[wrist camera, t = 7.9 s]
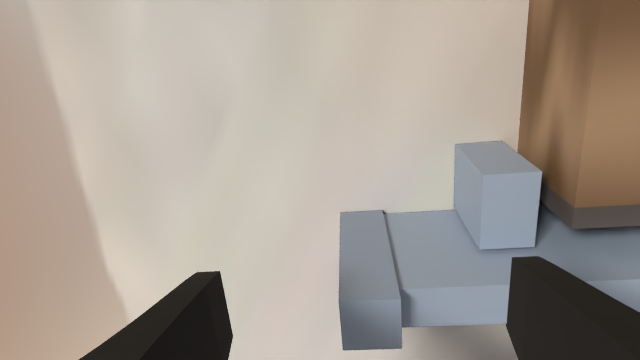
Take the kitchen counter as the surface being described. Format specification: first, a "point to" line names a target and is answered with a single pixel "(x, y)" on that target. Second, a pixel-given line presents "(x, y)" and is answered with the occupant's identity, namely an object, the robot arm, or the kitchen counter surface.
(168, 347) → the robot arm
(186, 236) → the kitchen counter surface
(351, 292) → the blue-grey stepped platform
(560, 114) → the brown block
